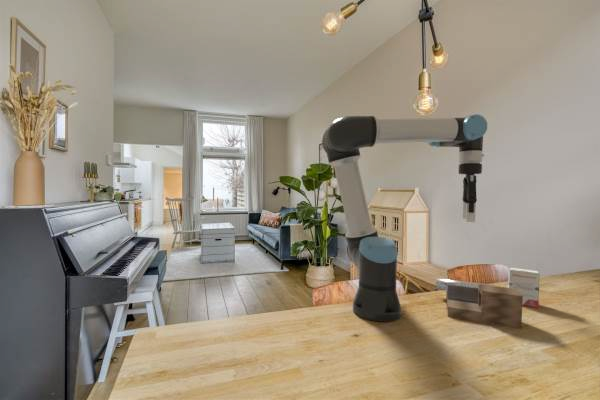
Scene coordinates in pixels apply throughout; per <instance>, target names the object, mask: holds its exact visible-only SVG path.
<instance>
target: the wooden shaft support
mask: <svg viewBox="0 0 600 400" xmlns="http://www.w3.org/2000/svg"><path fill="white" fill-rule="evenodd" d="M481 284H482V283H481ZM481 284H479V289H478V304H475V303H468V302H461V301H454V300H448V299H447V298H446V312H447V313H446V314H447V317H449V318H450V317H452V318H456V319H457V318H458V319H462V320H469V321H473V320H474V322H480V323H485V322H486V323H485V324H491V323H493V324H492V325H497V324H498V326H503V327H504V326H505V327H510V328H517V329H522V322H523V321H522V319H523V305H522V300H523V296H522V295H521V294H520V293H519V291H518V290H517V289H514V288H508V287H503V286H496V285H494V286H490V285H491V284H490V285H481Z"/></svg>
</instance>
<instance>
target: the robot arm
mask: <svg viewBox="0 0 600 400" xmlns="http://www.w3.org/2000/svg"><path fill="white" fill-rule="evenodd" d="M487 131H488V121H487V120H486V118H485V117H484V116H482V115H480V114H469V115H468V116H465V117H430V118H429V117H427V118H425V117H423V118H422V117H421V118H380V119H379V118H377V117H376V116H375V115H368V116H367V115H346V116H341V117H339V118H336V119H335V120H334V121H333V122H332V123H330V125H329V126H328V128H327V129H325V131H324V133H323V136H322V139H321V140H322V141H321V142H322V147H323V150H324V152H325V153H326V157H327V159H328V160H327V161H328V165H330V166H332V167H333V168H334V173H335V177H336V180H337V181H336V182H337V184H338V185H337V186H338V191H339V194H340V198H341V199H340V200H341V203H342V208H343V211H344V215H345V216H344V217H345V220H346V221H345V222H346V225H347V232H346V233H345V239H346V240H345V241H346V253H347V256H348V259H349V260H350V261H351V262H352V263H353V265H355V266H356V267H357V268H358V287H357V290H356V293H355V296H354V299H353V302H352V311H353V313H354V314H355V315H356V316H358V317H361V318H362V319H366V320H369V321H374V322H394V321H397V320H398V319H400V318H401V317H402V306H401V303H400V300H399V299H400V298H399V296H398V295H399V294H398V292H397V272H398V271H397V267H398V265H397V264H398V256H399V255H398V247H397V244H396V243H395V242H394V241H393V240H391V239H389V238H385V237H381V236H379V234H378V229H377V228H376V227H374V226H373V225H372V222H371V221H372V220H371V218H370V212H369V208H368V203H367V199H366V195H365V194H366V193H365V190H364V189H365V188H364V185H363V180H362V177H361V173H360V172H361V171H360V167H359V163H358V162H359V159H361V152H360V149H361V148H373V147H374V146H376V145H377V144H402V143H403V144H404V143H408V144H409V143H428V146H431V147H436V148H439V147H440V148H441V147H443V148H444V147H445V148H458V150H459V151H458V175H465V176H464V177H463V180H462V184H463V186H462V189H463V191H462V198H461V199H462V217H461V218H462V219H464V220H465V222H467V223H476V207H477V206H476V205H477V204H476V203H477V202H478V201H477V200H478V199H477V175H481V174H482V171H483V164H482V162H483V157H485V154H484V153H483V149H484V147H483V145H484V136H485V134H486V133H487ZM459 163H460V164H459Z"/></svg>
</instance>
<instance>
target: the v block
mask: <svg viewBox="0 0 600 400" xmlns="http://www.w3.org/2000/svg"><path fill="white" fill-rule="evenodd" d="M478 289H479V288H474V287H466V286H458V285H450V284H448V289H447V290H445V292H446V294H445V296H446V300H447V299H448V300H454V301H461V302H468V303H475V304H478Z"/></svg>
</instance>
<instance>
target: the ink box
mask: <svg viewBox="0 0 600 400" xmlns="http://www.w3.org/2000/svg"><path fill="white" fill-rule="evenodd" d="M507 276H508V278H507V279H508V280H507V288H514V289H517V290H518V291H519V293H520V294H521V295H522V296H523V300H522V306H527V307H531V308H532V307H533V308H539V305H540V304H539V303H540V281H541V278H540V276H541V274H540V272H539V271H538V270H532V269H524V268H517V267H516V268H515V267H508V275H507Z"/></svg>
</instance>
